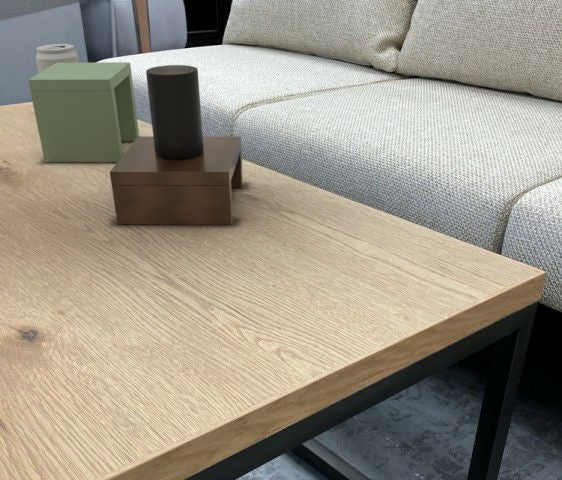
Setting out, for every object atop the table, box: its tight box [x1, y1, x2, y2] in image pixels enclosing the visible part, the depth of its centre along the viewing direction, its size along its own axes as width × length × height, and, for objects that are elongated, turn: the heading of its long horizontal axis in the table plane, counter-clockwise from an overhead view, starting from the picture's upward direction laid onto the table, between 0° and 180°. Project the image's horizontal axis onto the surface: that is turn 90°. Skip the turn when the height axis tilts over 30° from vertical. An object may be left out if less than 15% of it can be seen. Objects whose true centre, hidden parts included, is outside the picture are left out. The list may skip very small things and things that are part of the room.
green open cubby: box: [28, 61, 140, 163], centre depth 101 cm, size 11×12×11 cm
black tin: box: [145, 64, 204, 160], centre depth 79 cm, size 6×6×9 cm
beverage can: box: [35, 43, 80, 74], centre depth 112 cm, size 6×6×12 cm
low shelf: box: [109, 136, 244, 226], centre depth 83 cm, size 13×14×6 cm
